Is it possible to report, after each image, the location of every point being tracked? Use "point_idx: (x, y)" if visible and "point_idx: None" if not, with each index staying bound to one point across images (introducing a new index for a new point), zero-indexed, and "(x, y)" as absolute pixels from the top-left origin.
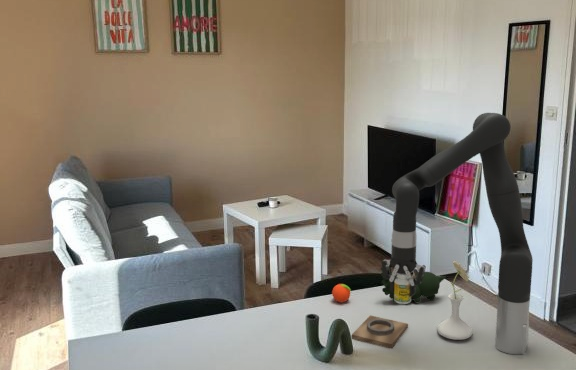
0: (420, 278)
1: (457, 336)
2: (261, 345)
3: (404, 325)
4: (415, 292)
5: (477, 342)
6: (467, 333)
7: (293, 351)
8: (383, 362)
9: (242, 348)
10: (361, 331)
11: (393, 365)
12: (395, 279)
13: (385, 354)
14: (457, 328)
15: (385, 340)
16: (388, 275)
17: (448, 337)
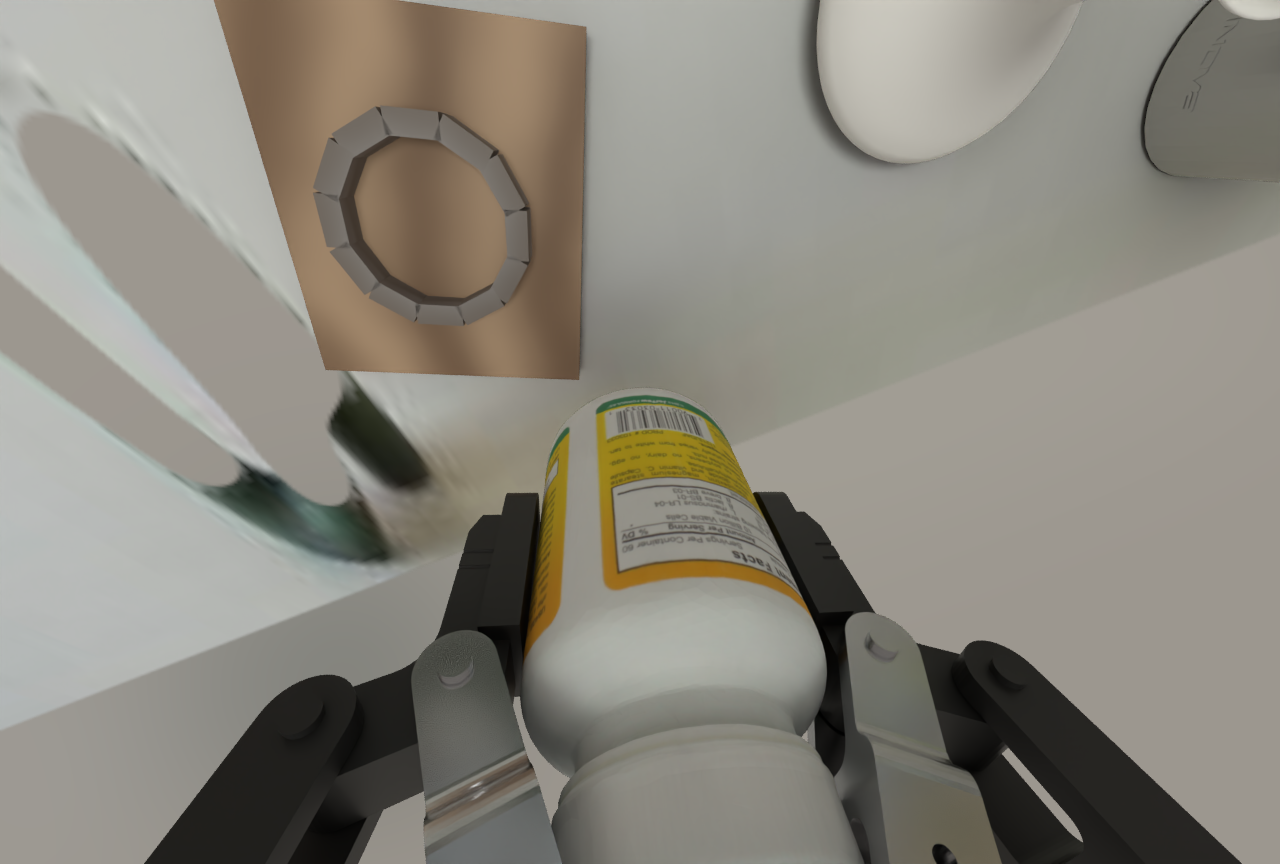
0: (1052, 860)
1: (950, 150)
2: (39, 571)
3: (569, 82)
4: (815, 525)
5: (1051, 85)
6: (1034, 86)
7: (204, 554)
8: None
9: (7, 612)
10: (349, 310)
11: None
12: (553, 766)
13: None
14: (988, 101)
15: (532, 356)
16: (368, 810)
17: (884, 159)
